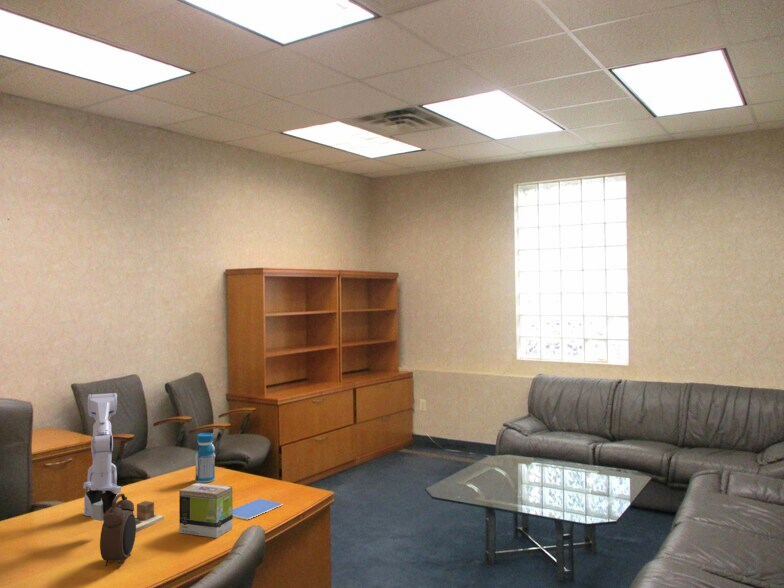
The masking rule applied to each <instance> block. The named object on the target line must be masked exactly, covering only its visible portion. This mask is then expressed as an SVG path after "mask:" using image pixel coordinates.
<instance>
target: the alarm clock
mask: <svg viewBox="0 0 784 588" xmlns="http://www.w3.org/2000/svg"><path fill="white" fill-rule="evenodd" d="M119 498H121V500H119ZM134 505H135V504H134V503H133V501H131V500H128V497H127V496H126V495H125V493H118V494H117V495H116V497H115V498H114V500H113V502H112V507H111V508H110V509H108V510H107V511H106V512H105V513H104V516H103V520H102V521H103V524H102V526H101V530H100V537H99V538H100V539H99V551H100V556H101V558H102V560H103V561H105V565H104V566H105V567H108V564H109V562H118V566H117V569H120V568H121V564H122V561H125V560H127V559H128V558H129V557H131V553H132V551H133V548H134V545H135V542H136V541H135V540H136V536H137V535H136V534H137V532H136V520H135V513H134V511H135V506H134Z"/></svg>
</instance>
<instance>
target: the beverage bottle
mask: <svg viewBox="0 0 784 588" xmlns="http://www.w3.org/2000/svg"><path fill="white" fill-rule="evenodd" d="M196 441H197V443H198V444H197V445H196V447H195V450H194V451H195V456H194V459H195V476H194V477H195V479H194V480H195V483H203V484H208V483H211V482H214V481H215V479H216V474H215V473H216V472H215V469H216V468H215V467H216V466H215V464H216V463H215V462H216V460H215V459H216V453H215V451H216V447H215V445H214V444H213V442H214V433H211V432H202V433H198V434H197V435H196Z"/></svg>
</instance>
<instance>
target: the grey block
mask: <svg viewBox="0 0 784 588" xmlns="http://www.w3.org/2000/svg"><path fill="white" fill-rule="evenodd" d="M103 516H104V512H103V502H102V501H99V502H97V503H94V504H92V516H91V520H93V521H99V522H102V521H103Z"/></svg>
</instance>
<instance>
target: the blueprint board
mask: <svg viewBox="0 0 784 588" xmlns="http://www.w3.org/2000/svg"><path fill="white" fill-rule="evenodd" d="M134 516H135V520H136V533H137V532H140V531H142V530H144V529H146V528H148V527H150V526H153V525H154V524H156V523H159V522H161V521H164V517H165V516H164V515H159V514H154V516H153V517H151V518H149V519H147V520H143V519H137V514H134Z"/></svg>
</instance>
